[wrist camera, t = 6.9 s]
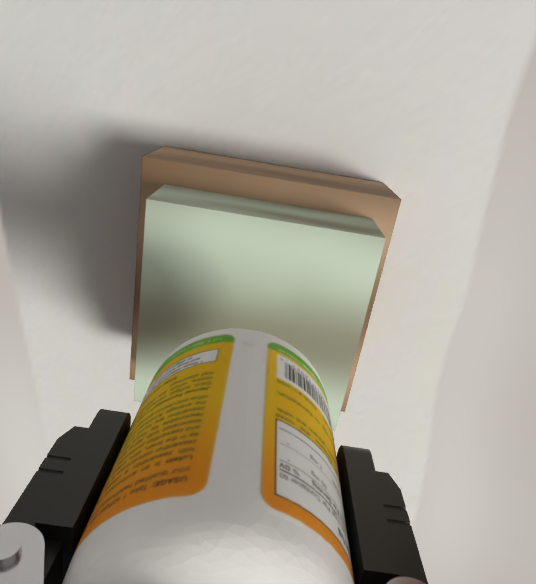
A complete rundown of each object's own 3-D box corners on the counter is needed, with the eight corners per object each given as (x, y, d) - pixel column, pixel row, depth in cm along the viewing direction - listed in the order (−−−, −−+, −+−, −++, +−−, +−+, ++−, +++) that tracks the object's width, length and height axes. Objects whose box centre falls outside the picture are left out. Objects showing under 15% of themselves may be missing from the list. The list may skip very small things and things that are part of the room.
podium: (164, 146, 24) (120, 167, 18) (383, 183, 24) (419, 216, 18) (149, 341, 28) (109, 416, 22) (336, 370, 29) (352, 452, 22)
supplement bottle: (143, 455, 16) (-39, 933, 7) (161, 307, 14) (-67, 712, 5) (305, 483, 16) (335, 979, 7) (347, 342, 14) (460, 788, 5)
